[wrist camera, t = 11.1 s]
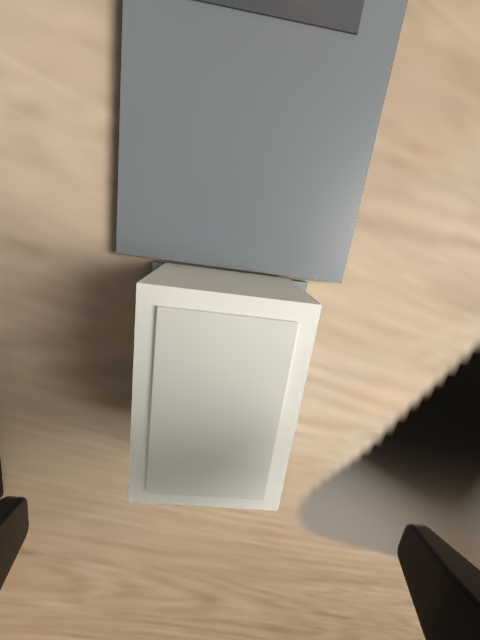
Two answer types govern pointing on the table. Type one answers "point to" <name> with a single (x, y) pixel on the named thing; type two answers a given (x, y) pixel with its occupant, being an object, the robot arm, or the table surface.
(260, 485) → the cover
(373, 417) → the table surface
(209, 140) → the base plate
